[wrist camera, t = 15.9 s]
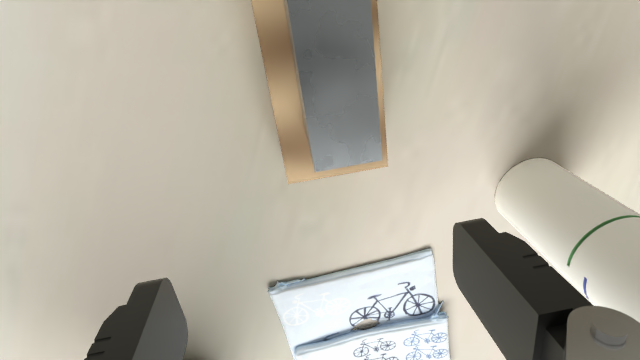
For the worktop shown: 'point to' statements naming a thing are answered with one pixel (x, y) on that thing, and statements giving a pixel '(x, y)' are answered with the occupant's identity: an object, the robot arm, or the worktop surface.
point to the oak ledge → (287, 95)
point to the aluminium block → (336, 80)
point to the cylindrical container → (576, 231)
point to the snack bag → (366, 312)
